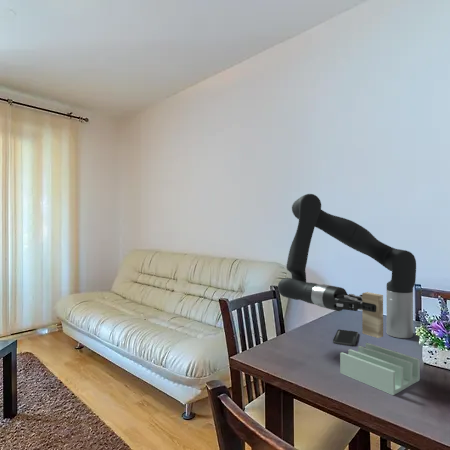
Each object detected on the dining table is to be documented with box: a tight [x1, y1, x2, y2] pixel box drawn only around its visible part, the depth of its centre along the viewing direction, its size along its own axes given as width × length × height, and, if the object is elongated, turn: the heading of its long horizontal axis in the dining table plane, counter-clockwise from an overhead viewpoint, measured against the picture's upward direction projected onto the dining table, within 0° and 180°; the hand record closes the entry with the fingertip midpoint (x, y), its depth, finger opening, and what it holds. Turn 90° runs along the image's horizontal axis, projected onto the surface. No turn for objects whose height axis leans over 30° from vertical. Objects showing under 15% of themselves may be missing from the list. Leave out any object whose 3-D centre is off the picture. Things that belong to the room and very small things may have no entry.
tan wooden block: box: [361, 291, 384, 339], centre depth 101 cm, size 2×5×12 cm, turn 35°
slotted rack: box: [339, 342, 421, 396], centre depth 100 cm, size 14×16×6 cm
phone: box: [332, 329, 359, 347], centre depth 132 cm, size 8×1×15 cm
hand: (378, 307), depth 100 cm, fingers closed on tan wooden block, 2 cm apart
